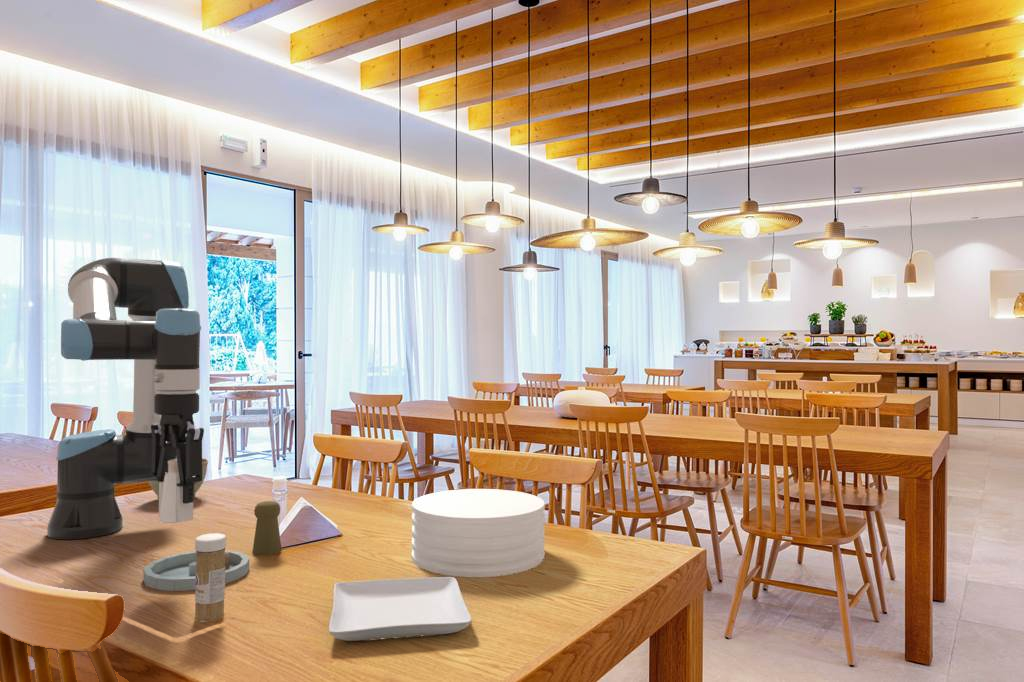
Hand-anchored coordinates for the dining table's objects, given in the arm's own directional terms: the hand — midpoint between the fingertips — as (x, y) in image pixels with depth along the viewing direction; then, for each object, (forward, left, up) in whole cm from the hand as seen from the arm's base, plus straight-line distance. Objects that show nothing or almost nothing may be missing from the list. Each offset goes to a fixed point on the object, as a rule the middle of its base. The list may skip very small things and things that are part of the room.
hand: (175, 518), depth 129 cm
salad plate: (+45, +12, -13) cm, 48 cm away
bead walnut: (+4, +6, -11) cm, 14 cm away
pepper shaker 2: (-2, +22, -12) cm, 25 cm away
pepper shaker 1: (0, 0, 0) cm, 0 cm away
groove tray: (0, +5, -12) cm, 13 cm away
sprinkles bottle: (+21, -6, -12) cm, 25 cm away
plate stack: (+35, +47, -12) cm, 60 cm away
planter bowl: (-68, +41, -12) cm, 80 cm away
